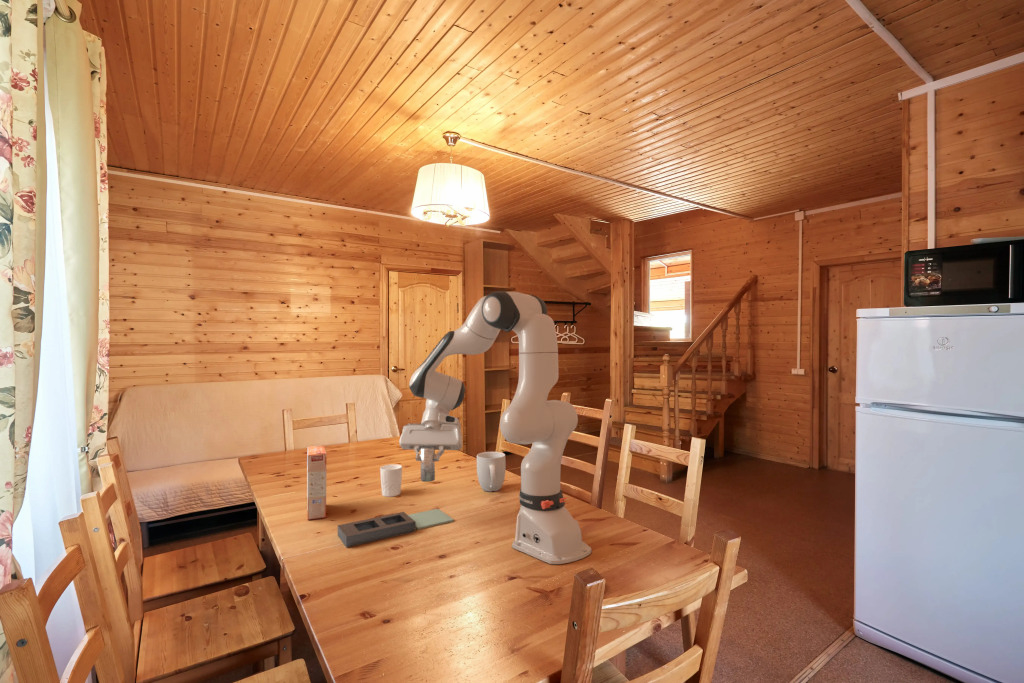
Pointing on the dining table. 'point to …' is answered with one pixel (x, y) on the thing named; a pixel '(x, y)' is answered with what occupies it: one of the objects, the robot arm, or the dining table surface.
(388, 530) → the grey socket block
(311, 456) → the cracker box
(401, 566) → the dining table surface
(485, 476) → the mug
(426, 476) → the steel peg
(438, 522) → the mat
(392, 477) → the white cup
